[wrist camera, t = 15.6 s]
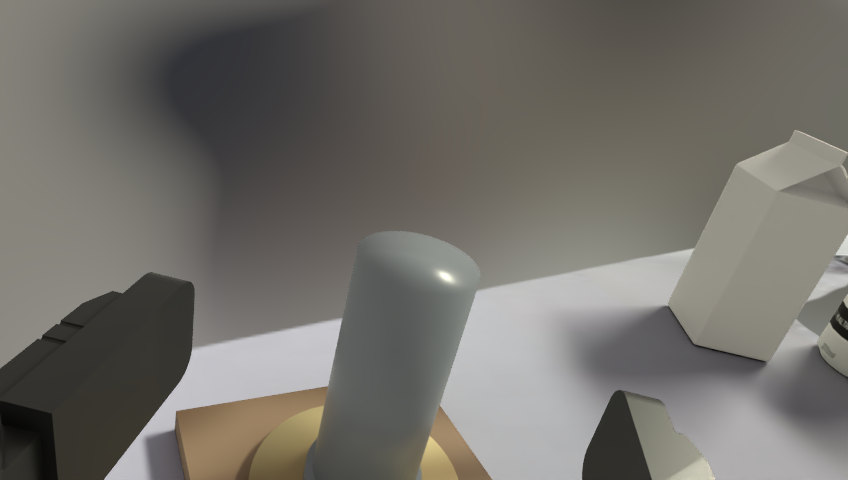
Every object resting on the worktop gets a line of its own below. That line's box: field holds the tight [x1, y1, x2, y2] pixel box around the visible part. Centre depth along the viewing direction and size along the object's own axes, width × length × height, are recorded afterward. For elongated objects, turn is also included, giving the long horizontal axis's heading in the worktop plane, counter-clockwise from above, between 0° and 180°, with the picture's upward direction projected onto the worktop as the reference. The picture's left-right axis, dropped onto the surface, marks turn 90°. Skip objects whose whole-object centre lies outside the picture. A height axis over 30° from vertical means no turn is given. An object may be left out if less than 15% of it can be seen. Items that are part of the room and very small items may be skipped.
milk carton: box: [668, 130, 848, 362], centre depth 50 cm, size 7×7×19 cm
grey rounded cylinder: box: [303, 231, 480, 480], centre depth 24 cm, size 5×5×12 cm
